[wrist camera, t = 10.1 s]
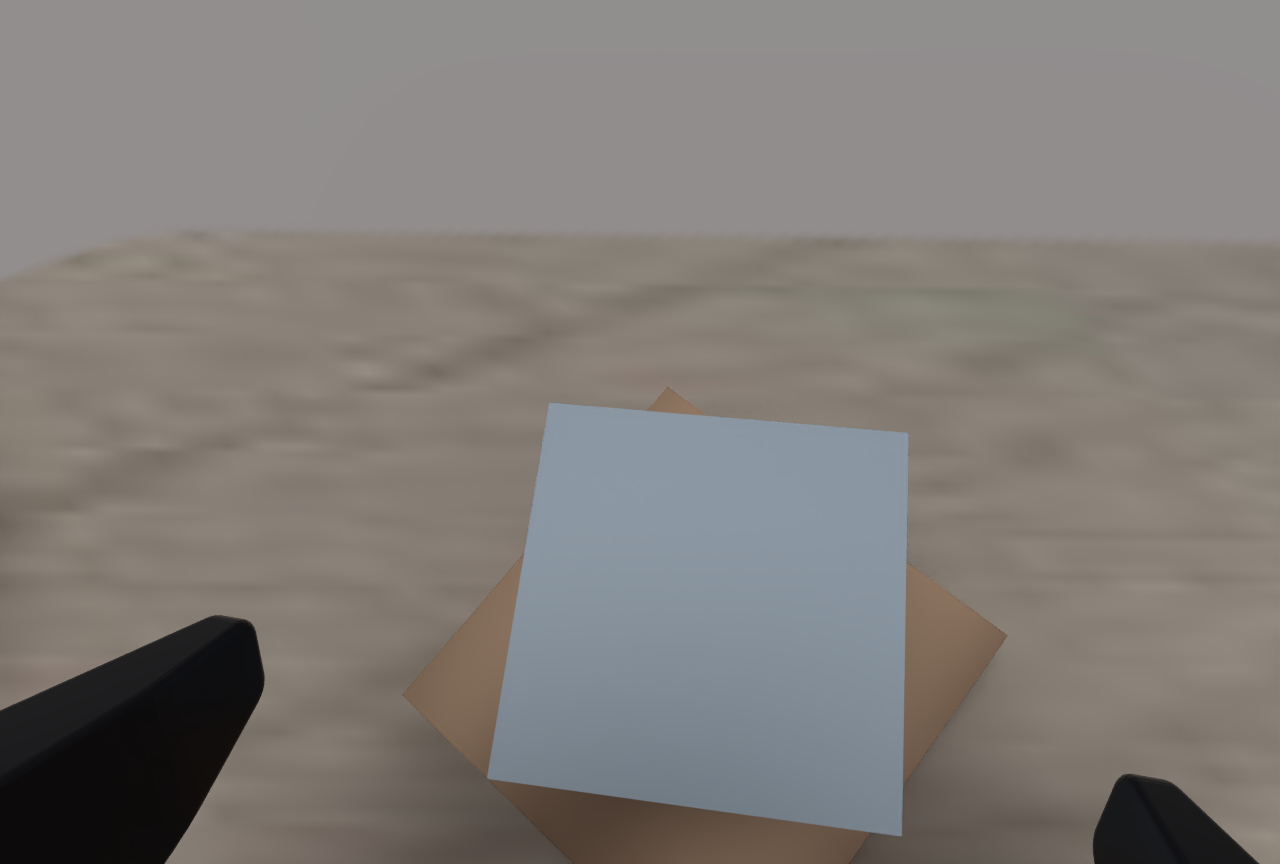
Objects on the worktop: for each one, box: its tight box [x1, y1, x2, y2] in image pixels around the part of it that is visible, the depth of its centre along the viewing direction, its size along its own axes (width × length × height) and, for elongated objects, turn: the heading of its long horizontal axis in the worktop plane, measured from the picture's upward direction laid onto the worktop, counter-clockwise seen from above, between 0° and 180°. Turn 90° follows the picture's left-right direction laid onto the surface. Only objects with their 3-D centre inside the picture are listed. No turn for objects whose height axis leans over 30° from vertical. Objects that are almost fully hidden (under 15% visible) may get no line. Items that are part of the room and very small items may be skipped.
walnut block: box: [403, 387, 1008, 864], centre depth 20 cm, size 10×10×3 cm
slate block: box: [487, 403, 908, 837], centre depth 15 cm, size 5×5×9 cm
